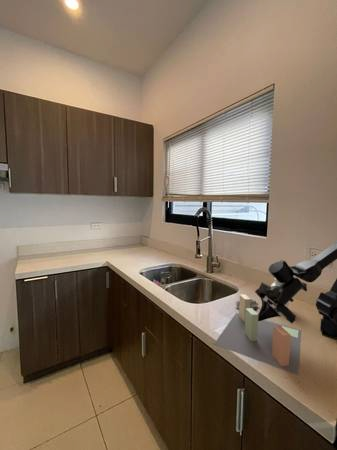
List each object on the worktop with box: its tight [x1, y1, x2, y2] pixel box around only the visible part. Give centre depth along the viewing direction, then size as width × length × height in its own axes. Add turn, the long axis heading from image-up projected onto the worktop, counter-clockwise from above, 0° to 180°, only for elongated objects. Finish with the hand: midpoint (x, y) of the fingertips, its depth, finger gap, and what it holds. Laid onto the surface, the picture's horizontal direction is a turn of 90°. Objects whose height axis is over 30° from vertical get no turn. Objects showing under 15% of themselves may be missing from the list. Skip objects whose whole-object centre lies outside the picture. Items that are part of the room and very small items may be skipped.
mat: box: [213, 312, 302, 375], centre depth 83 cm, size 26×28×1 cm
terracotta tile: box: [272, 326, 291, 366], centre depth 70 cm, size 2×5×10 cm, turn 6°
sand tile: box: [238, 293, 251, 322], centre depth 96 cm, size 2×5×10 cm, turn 6°
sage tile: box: [245, 308, 259, 341], centre depth 83 cm, size 2×5×10 cm, turn 6°
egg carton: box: [235, 298, 260, 311], centre depth 108 cm, size 11×8×4 cm
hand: (257, 319), depth 83 cm, fingers closed
